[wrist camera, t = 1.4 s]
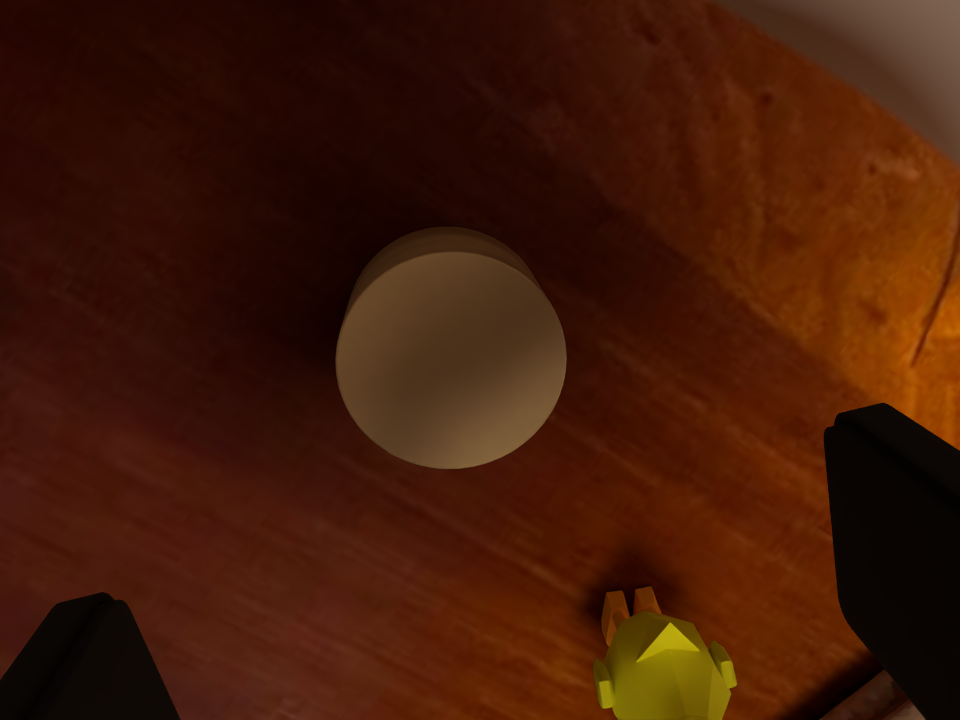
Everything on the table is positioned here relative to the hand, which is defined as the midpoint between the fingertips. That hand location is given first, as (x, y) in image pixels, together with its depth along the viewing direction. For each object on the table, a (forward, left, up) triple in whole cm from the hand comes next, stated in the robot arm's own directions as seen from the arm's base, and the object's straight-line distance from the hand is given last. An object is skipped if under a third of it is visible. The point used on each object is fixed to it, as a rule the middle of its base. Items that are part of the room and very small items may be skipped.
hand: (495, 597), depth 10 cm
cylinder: (0, 0, -11) cm, 11 cm away
